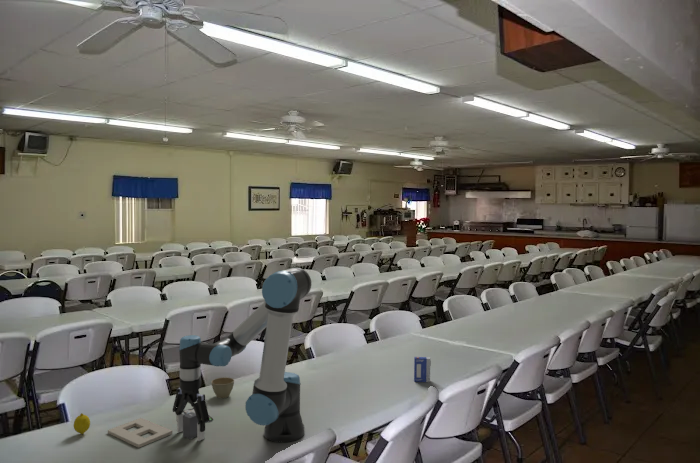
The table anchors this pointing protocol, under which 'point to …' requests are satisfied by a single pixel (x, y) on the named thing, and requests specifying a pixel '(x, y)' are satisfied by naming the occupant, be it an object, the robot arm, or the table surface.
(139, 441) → the outlet plate
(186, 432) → the dark grey rectangular block
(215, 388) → the flower pot
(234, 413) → the table surface
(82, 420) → the fruit
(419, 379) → the walkman
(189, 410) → the smartphone
